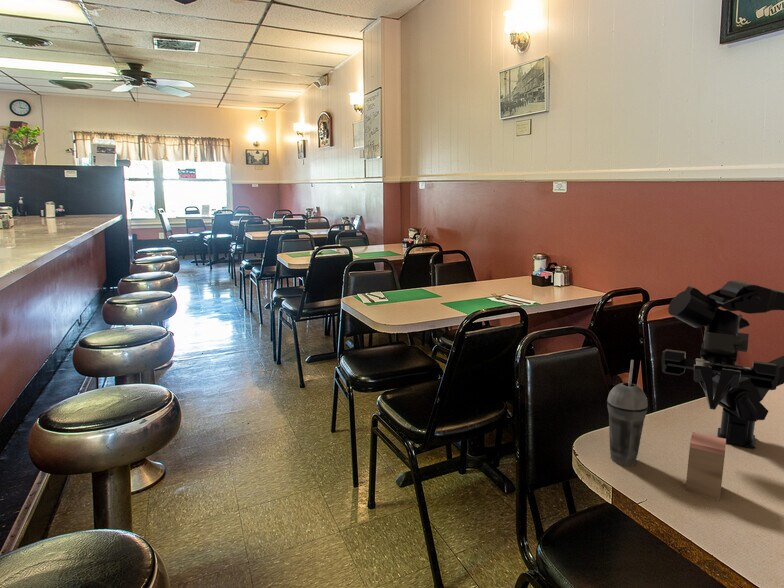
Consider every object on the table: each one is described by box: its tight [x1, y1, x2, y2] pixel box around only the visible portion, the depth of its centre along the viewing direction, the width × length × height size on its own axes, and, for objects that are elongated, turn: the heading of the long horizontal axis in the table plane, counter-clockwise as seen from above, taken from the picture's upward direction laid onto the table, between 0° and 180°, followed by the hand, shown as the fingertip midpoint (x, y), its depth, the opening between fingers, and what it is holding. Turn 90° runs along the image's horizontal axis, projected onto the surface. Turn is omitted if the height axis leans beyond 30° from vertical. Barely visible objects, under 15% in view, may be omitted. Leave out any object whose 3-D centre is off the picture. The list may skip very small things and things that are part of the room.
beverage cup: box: [606, 359, 649, 467], centre depth 95 cm, size 7×7×20 cm
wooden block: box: [685, 431, 727, 501], centre depth 86 cm, size 5×5×9 cm
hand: (712, 408), depth 92 cm, fingers closed
